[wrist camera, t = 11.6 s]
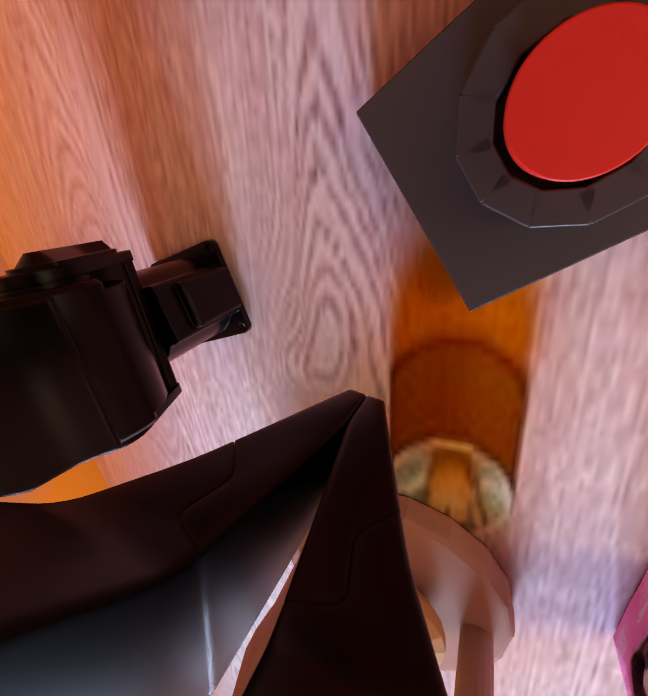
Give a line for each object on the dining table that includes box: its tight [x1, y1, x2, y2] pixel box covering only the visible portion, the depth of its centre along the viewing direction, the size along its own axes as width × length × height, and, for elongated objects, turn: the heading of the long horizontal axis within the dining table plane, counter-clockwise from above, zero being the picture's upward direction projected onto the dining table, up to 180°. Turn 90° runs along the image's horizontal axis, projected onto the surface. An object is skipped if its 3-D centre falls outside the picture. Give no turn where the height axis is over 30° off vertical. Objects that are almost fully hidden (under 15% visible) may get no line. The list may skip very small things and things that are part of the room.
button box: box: [357, 0, 648, 311], centre depth 13 cm, size 12×10×4 cm
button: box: [503, 2, 648, 182], centre depth 10 cm, size 4×4×2 cm
